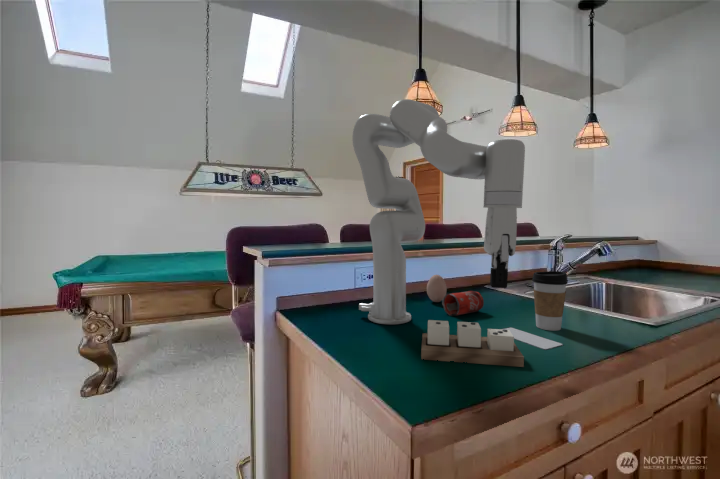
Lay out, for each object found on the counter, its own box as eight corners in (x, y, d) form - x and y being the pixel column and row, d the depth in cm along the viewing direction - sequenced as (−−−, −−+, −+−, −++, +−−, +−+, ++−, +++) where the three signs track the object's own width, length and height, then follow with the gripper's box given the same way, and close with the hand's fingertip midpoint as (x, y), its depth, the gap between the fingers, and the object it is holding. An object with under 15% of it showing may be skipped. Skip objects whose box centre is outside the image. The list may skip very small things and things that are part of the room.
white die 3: (490, 353, 74) (490, 334, 74) (487, 346, 79) (487, 327, 78) (513, 355, 73) (513, 335, 73) (508, 347, 78) (509, 328, 78)
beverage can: (486, 313, 110) (487, 292, 109) (457, 318, 104) (458, 296, 104) (469, 308, 116) (469, 288, 116) (441, 313, 110) (441, 292, 110)
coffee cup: (571, 333, 90) (573, 275, 90) (535, 331, 92) (537, 274, 91) (559, 323, 99) (561, 270, 98) (527, 321, 100) (528, 269, 99)
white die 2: (458, 346, 76) (458, 326, 75) (457, 339, 80) (457, 320, 80) (480, 347, 75) (481, 327, 74) (477, 340, 79) (478, 321, 79)
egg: (443, 305, 120) (443, 276, 119) (423, 302, 123) (424, 275, 123) (448, 301, 126) (449, 274, 125) (430, 299, 129) (430, 272, 128)
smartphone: (510, 326, 95) (564, 344, 82) (510, 328, 95) (564, 346, 82) (491, 330, 92) (545, 349, 79) (491, 332, 92) (545, 351, 79)
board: (421, 359, 74) (421, 349, 74) (422, 341, 85) (422, 333, 85) (523, 367, 70) (523, 357, 70) (511, 347, 81) (511, 338, 81)
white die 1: (427, 344, 77) (427, 324, 77) (427, 337, 81) (428, 319, 81) (448, 345, 76) (449, 326, 76) (448, 338, 80) (448, 320, 80)
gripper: (479, 201, 82) (475, 279, 84) (489, 199, 68) (485, 294, 69) (513, 202, 81) (509, 281, 82) (531, 200, 66) (526, 296, 68)
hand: (498, 286), depth 76 cm, fingers closed
